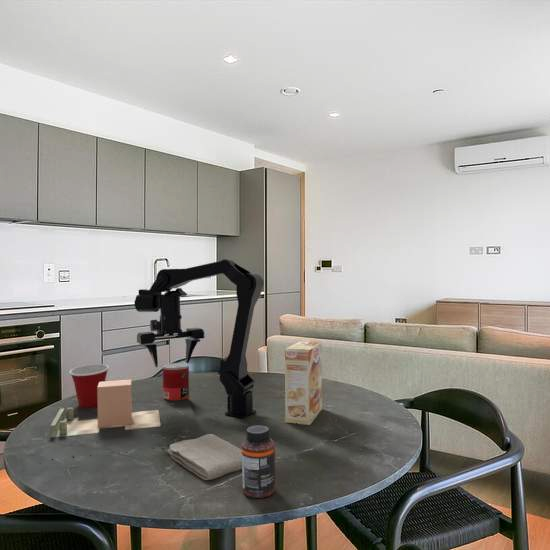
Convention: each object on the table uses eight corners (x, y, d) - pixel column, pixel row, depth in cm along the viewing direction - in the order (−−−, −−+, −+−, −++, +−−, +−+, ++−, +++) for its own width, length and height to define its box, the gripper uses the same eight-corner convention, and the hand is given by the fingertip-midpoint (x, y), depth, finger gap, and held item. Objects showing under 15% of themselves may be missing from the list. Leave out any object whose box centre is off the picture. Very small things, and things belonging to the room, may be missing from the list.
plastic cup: (61, 412, 128) (60, 370, 128) (85, 402, 138) (85, 363, 138) (94, 415, 125) (94, 372, 125) (117, 404, 136) (116, 364, 136)
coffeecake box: (310, 425, 115) (309, 349, 115) (284, 422, 118) (283, 348, 117) (323, 408, 129) (322, 341, 129) (299, 406, 132) (298, 340, 132)
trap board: (158, 414, 126) (158, 399, 126) (160, 430, 112) (160, 414, 112) (60, 423, 118) (60, 407, 118) (50, 442, 105) (50, 424, 105)
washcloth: (210, 442, 106) (210, 429, 106) (257, 467, 92) (257, 452, 92) (163, 456, 98) (163, 441, 98) (207, 485, 84) (207, 468, 84)
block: (131, 416, 120) (131, 379, 120) (131, 424, 114) (131, 384, 114) (99, 419, 117) (99, 381, 117) (97, 427, 112) (97, 387, 112)
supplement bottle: (257, 480, 85) (256, 420, 85) (282, 490, 81) (281, 427, 81) (235, 492, 80) (234, 429, 80) (260, 503, 76) (259, 437, 76)
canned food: (186, 404, 135) (186, 367, 135) (160, 404, 135) (159, 367, 135) (191, 397, 143) (191, 362, 143) (166, 397, 143) (166, 362, 143)
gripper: (192, 308, 143) (193, 357, 143) (132, 312, 134) (133, 364, 134) (204, 310, 133) (205, 362, 133) (140, 314, 124) (142, 371, 124)
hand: (172, 365), depth 132 cm, fingers open, 9 cm apart
